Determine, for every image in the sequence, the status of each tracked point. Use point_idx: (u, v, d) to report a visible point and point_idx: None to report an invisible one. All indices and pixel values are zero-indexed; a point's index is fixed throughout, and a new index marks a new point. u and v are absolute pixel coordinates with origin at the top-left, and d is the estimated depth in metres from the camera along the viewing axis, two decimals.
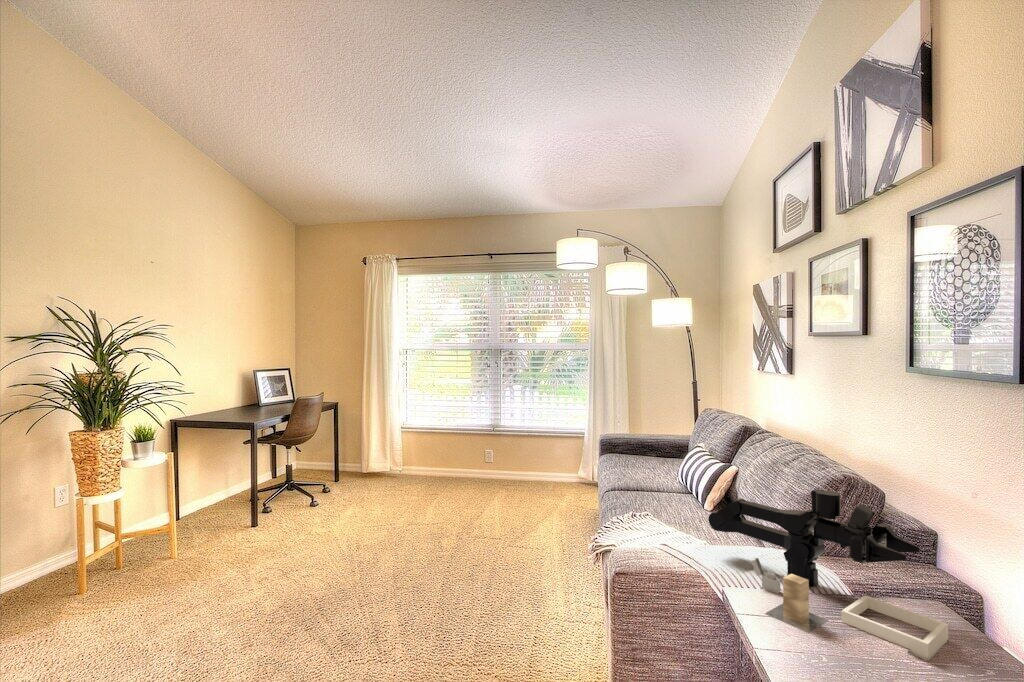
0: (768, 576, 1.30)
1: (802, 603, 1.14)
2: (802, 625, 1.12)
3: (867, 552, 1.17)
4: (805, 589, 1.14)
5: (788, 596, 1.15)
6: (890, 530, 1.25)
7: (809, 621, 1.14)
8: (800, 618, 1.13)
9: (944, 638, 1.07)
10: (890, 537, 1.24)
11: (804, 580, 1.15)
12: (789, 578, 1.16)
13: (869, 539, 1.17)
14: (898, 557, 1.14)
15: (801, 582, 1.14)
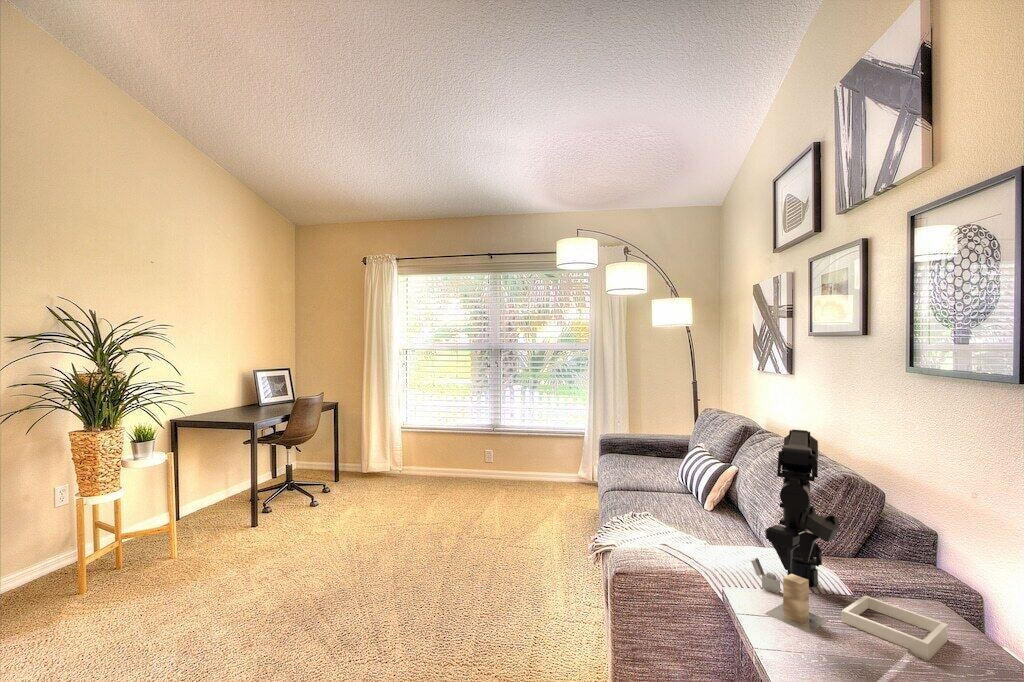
0: (768, 576, 1.30)
1: (802, 603, 1.14)
2: (802, 625, 1.12)
3: (779, 543, 1.12)
4: (805, 589, 1.14)
5: (788, 596, 1.15)
6: (819, 537, 1.18)
7: (809, 621, 1.14)
8: (800, 618, 1.13)
9: (944, 638, 1.07)
10: (810, 537, 1.18)
11: (804, 580, 1.15)
12: (789, 578, 1.16)
13: (794, 547, 1.10)
14: (785, 564, 1.13)
15: (801, 582, 1.14)
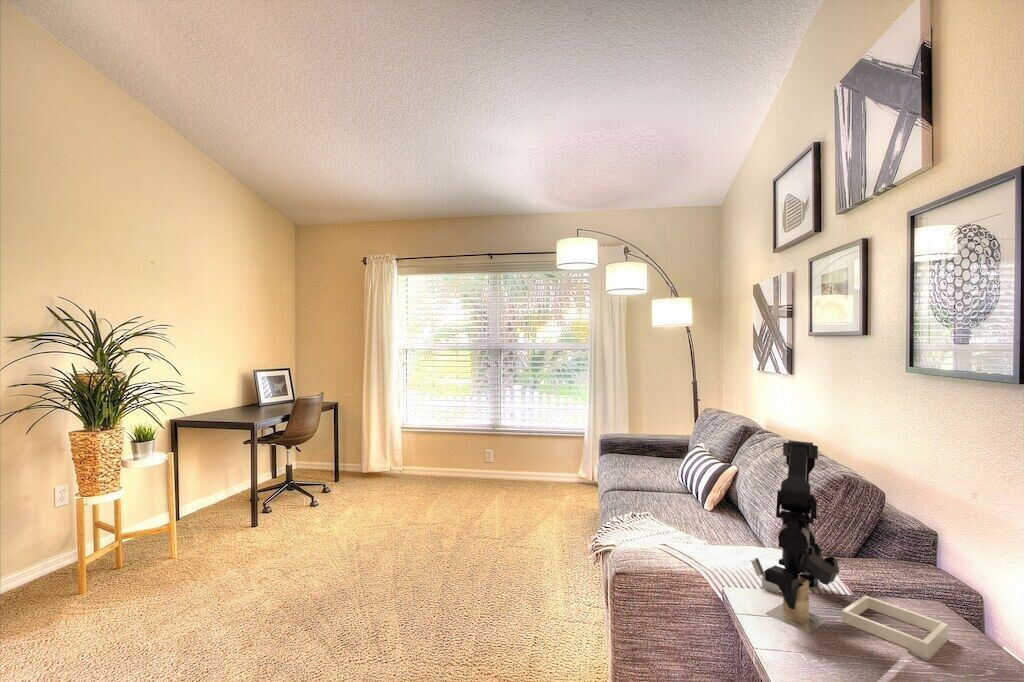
0: None
1: (802, 603, 1.14)
2: (802, 625, 1.12)
3: None
4: (805, 589, 1.14)
5: None
6: (814, 579, 1.16)
7: (809, 621, 1.14)
8: (800, 618, 1.13)
9: (944, 638, 1.07)
10: None
11: (804, 580, 1.15)
12: None
13: (798, 587, 1.11)
14: (789, 603, 1.14)
15: (801, 582, 1.14)
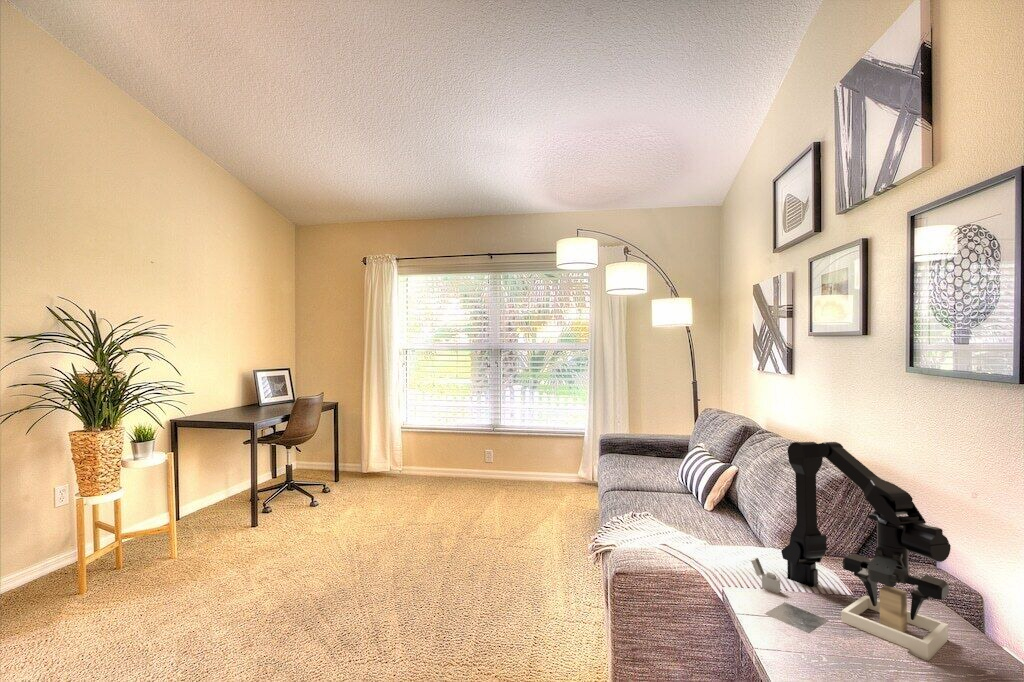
0: (768, 576, 1.30)
1: (884, 611, 1.11)
2: (802, 625, 1.12)
3: None
4: (891, 601, 1.10)
5: None
6: (916, 596, 1.06)
7: (809, 621, 1.14)
8: None
9: (944, 638, 1.07)
10: None
11: (894, 593, 1.10)
12: (886, 586, 1.13)
13: (858, 576, 1.15)
14: None
15: (885, 590, 1.12)
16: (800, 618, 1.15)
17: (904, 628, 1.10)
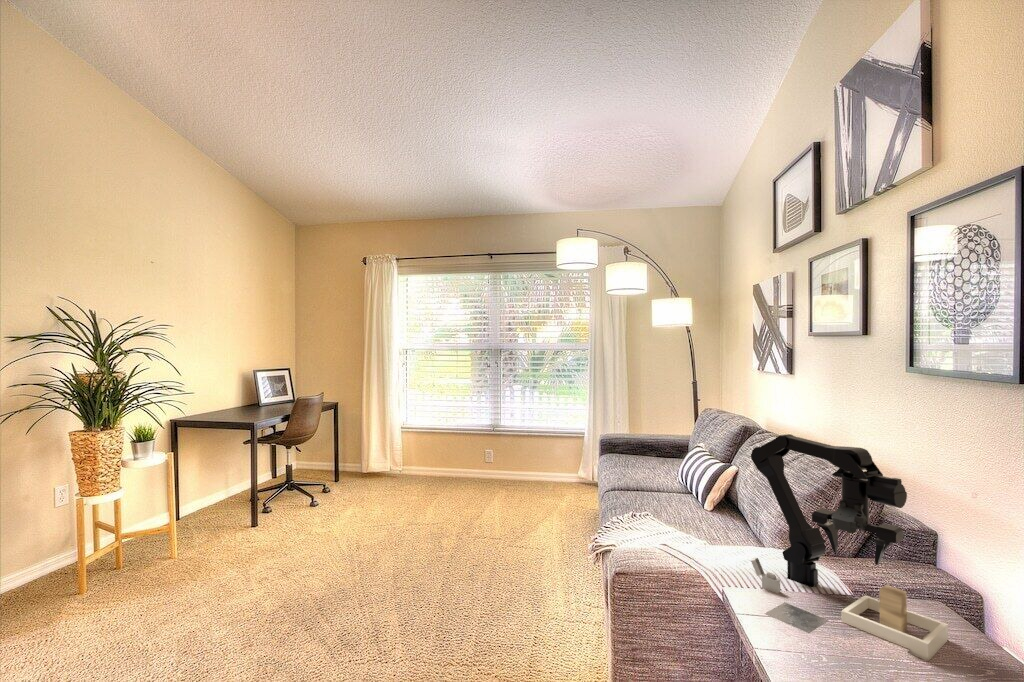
0: (768, 576, 1.30)
1: (884, 611, 1.11)
2: (802, 625, 1.12)
3: None
4: (891, 601, 1.10)
5: None
6: (879, 542, 1.18)
7: (809, 621, 1.14)
8: None
9: (944, 638, 1.07)
10: None
11: (894, 593, 1.10)
12: (886, 587, 1.13)
13: (821, 526, 1.28)
14: None
15: (884, 590, 1.12)
16: (800, 618, 1.15)
17: (904, 628, 1.10)
